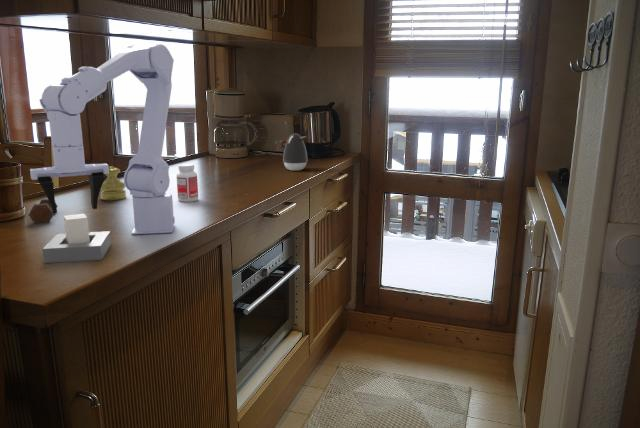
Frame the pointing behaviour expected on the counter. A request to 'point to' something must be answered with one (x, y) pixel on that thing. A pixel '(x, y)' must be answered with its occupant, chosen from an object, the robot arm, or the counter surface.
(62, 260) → the socket block
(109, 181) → the yellow chess piece
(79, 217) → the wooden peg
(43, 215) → the bolt
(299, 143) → the pump dispenser
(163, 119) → the robot arm
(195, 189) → the pill bottle
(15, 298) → the counter surface
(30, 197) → the counter surface
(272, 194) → the counter surface
